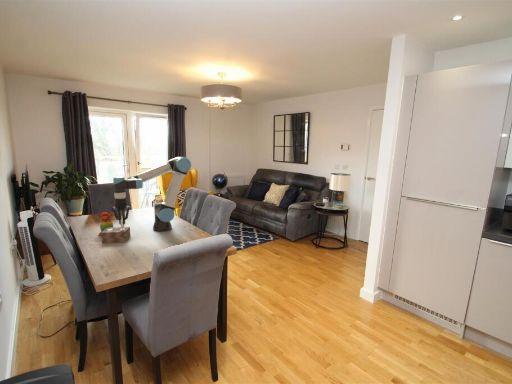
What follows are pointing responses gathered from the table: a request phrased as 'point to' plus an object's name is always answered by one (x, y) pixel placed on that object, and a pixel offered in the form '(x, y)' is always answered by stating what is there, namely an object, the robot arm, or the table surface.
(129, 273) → the table surface
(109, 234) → the brown woven basket
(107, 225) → the stacking bear
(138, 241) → the table surface
